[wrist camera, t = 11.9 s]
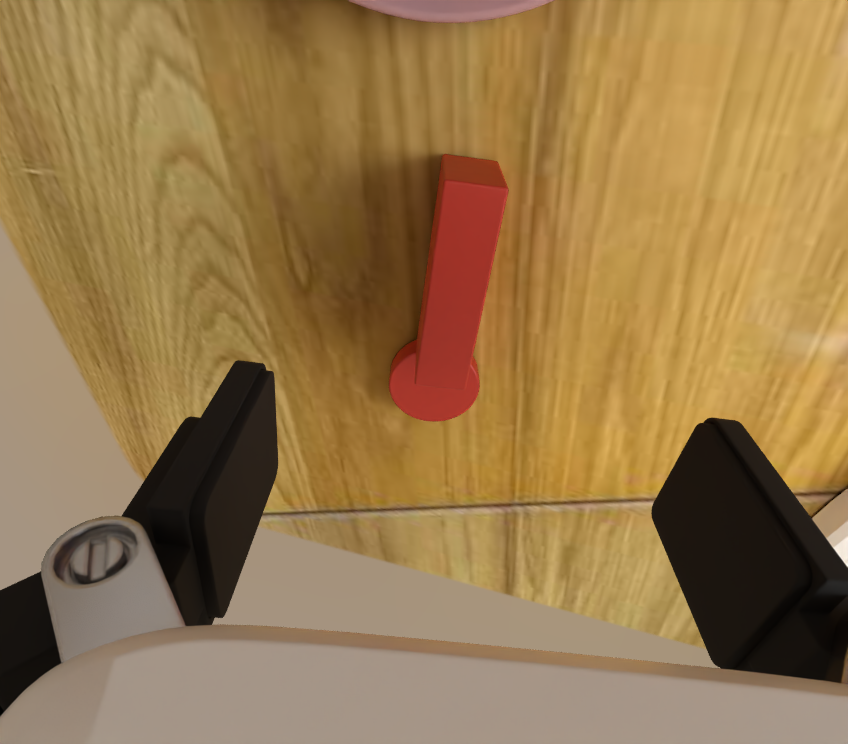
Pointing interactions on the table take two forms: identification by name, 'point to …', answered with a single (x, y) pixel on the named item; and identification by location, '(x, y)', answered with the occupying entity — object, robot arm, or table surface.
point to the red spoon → (452, 292)
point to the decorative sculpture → (835, 524)
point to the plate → (450, 9)
